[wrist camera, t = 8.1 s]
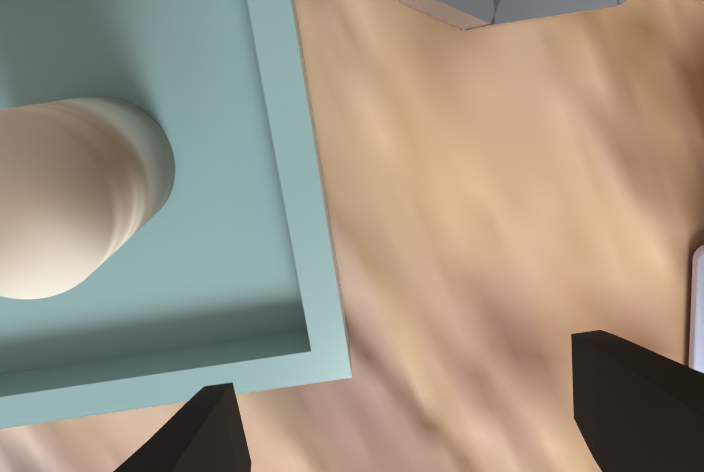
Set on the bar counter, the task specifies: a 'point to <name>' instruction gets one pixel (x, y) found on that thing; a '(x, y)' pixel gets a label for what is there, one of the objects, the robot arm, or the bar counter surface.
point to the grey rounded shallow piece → (502, 10)
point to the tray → (182, 212)
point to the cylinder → (75, 188)
